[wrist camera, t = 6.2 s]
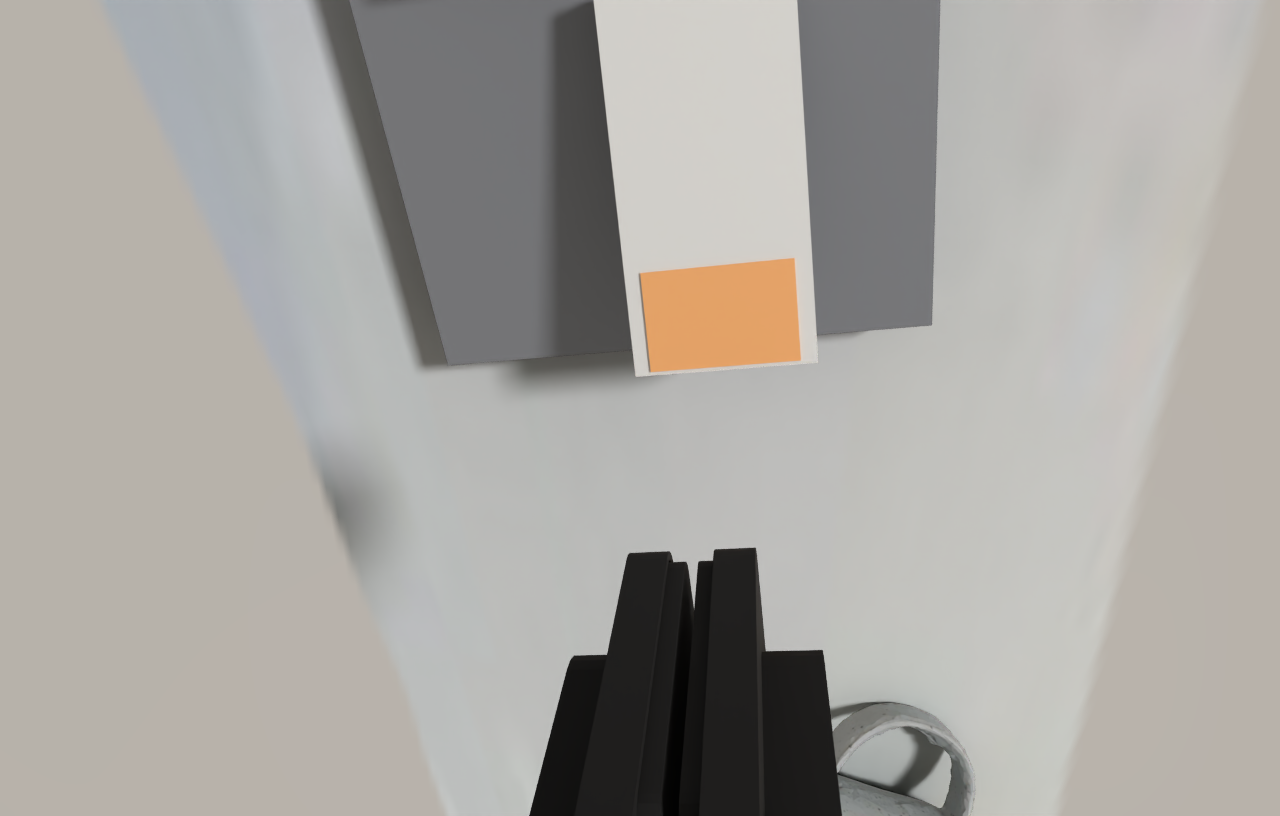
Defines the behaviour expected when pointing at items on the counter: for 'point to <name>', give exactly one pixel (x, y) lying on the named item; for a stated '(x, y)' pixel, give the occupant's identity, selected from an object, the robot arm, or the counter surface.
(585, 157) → the control panel
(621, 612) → the robot arm
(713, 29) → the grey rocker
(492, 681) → the counter surface
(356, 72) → the counter surface
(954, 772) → the ceramic mug
